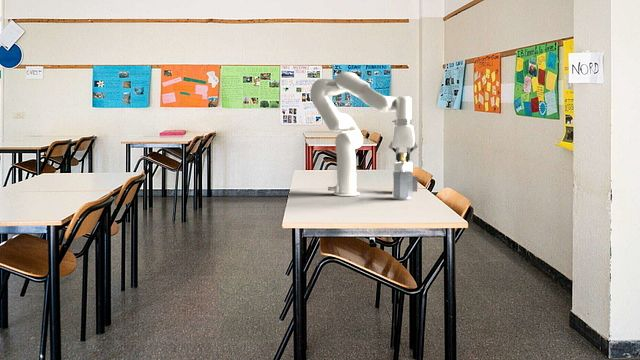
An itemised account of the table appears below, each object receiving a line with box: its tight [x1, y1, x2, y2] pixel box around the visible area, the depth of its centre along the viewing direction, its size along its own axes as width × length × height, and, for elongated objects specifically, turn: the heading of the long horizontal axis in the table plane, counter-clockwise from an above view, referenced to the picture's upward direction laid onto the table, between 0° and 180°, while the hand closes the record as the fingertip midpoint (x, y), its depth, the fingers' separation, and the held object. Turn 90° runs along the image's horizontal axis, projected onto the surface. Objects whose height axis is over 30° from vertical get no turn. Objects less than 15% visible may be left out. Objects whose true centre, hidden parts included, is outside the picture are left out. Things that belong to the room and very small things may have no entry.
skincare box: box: [393, 161, 413, 172], centre depth 318 cm, size 8×7×16 cm
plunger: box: [399, 151, 407, 172], centre depth 298 cm, size 6×6×16 cm
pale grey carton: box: [392, 170, 419, 201], centre depth 299 cm, size 12×9×13 cm
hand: (402, 161), depth 297 cm, fingers closed on plunger, 3 cm apart
